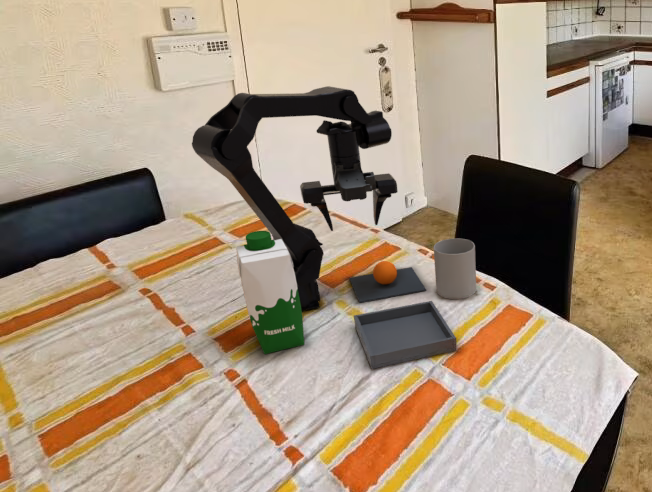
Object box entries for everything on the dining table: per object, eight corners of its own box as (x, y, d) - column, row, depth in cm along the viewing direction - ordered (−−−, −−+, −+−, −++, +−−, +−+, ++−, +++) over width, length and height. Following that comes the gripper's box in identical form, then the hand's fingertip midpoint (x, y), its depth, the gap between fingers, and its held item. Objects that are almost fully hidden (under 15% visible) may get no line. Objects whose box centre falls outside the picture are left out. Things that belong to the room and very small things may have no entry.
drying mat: (359, 303, 127) (359, 301, 126) (349, 279, 136) (349, 277, 136) (426, 290, 131) (426, 289, 131) (411, 268, 141) (411, 267, 141)
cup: (470, 300, 127) (468, 256, 123) (431, 297, 129) (428, 252, 124) (480, 282, 135) (478, 239, 130) (443, 279, 136) (440, 237, 131)
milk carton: (300, 324, 119) (282, 226, 110) (310, 346, 112) (292, 243, 103) (252, 335, 116) (228, 234, 106) (259, 359, 108) (235, 253, 99)
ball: (377, 290, 131) (373, 269, 128) (373, 281, 135) (369, 260, 132) (401, 285, 132) (397, 264, 130) (395, 276, 136) (392, 255, 134)
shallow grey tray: (371, 369, 106) (370, 356, 104) (355, 327, 118) (353, 315, 117) (456, 350, 111) (456, 337, 110) (432, 312, 123) (431, 300, 122)
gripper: (299, 169, 114) (312, 247, 121) (400, 159, 120) (406, 234, 127) (294, 154, 123) (306, 228, 131) (388, 145, 129) (395, 217, 137)
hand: (354, 227), depth 131 cm, fingers open, 9 cm apart
